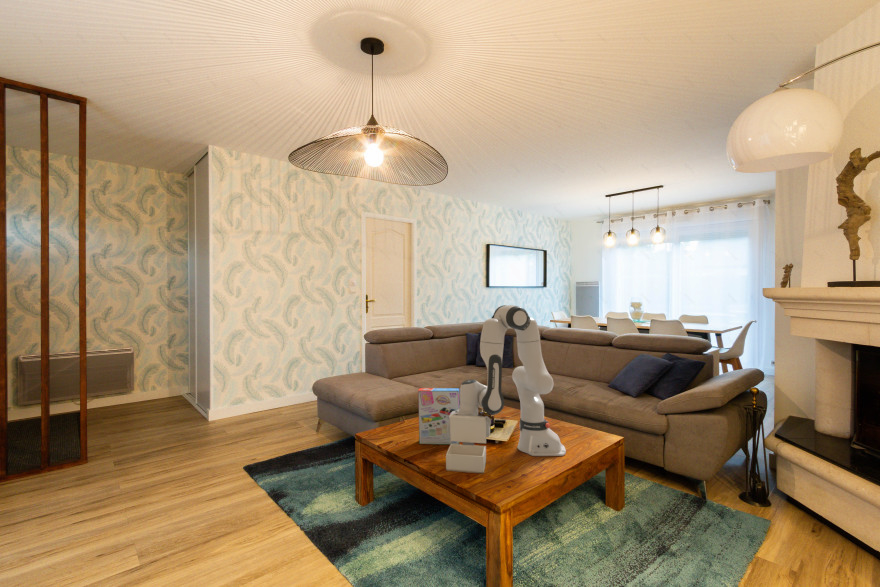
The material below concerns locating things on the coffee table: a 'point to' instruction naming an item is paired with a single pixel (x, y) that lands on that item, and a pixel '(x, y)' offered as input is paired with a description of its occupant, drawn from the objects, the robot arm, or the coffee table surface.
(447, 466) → the mailer box
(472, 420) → the lid
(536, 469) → the coffee table surface
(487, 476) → the coffee table surface
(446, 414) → the game box
